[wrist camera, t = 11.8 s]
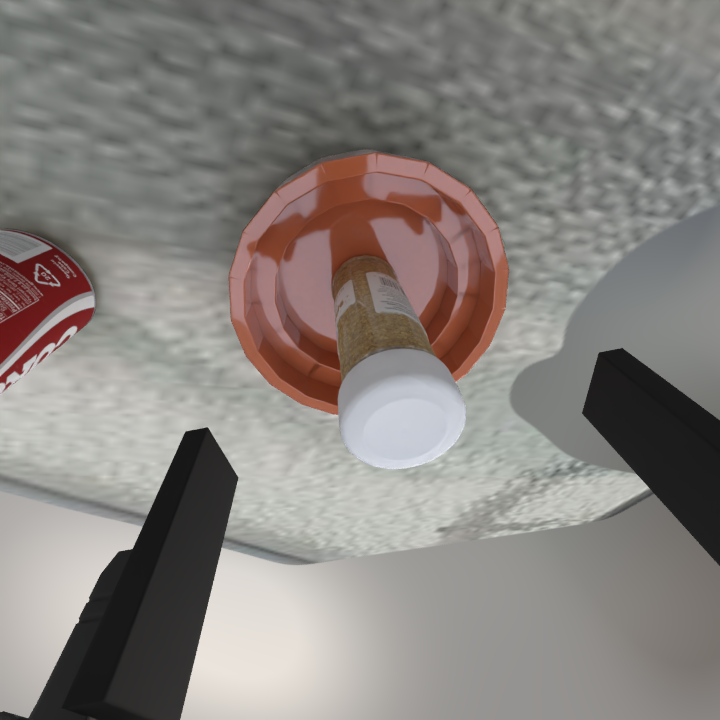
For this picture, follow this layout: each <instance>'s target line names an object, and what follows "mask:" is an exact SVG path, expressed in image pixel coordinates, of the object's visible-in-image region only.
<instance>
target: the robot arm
mask: <svg viewBox="0 0 720 720" xmlns="http://www.w3.org/2000/svg"><path fill="white" fill-rule="evenodd" d="M582 414H583V415H584V416H585V417H586V418H587V419H588V420H589V422H590V423H591V424H592V425H593V426H594V427H595V428H596V429H597V430H598V432H599V433H600V434H601V435H602V436H603V437H604V438H605V439H606V440H607V441H608V443H609V444H610V445H611V446H612V447H613V448H614V449H615V450H616V451H617V453H618V454H619V455H620V456H621V457H622V458H623V459H624V460H625V461H626V463H627V464H628V465H629V466H630V467H631V468H632V469H633V470H634V471H635V473H636V474H637V475H638V476H639V477H640V478H641V479H642V480H643V481H644V483H645V484H646V485H647V486H648V487H649V488H650V489H651V490H652V491H653V493H654V494H655V495H656V496H657V497H658V498H659V499H660V500H661V501H662V502H663V504H664V505H665V506H666V507H667V508H668V509H669V510H670V511H671V512H672V514H673V515H674V516H675V517H676V518H677V519H678V520H679V521H680V522H681V523H682V525H683V526H684V527H685V528H686V529H687V530H688V531H689V532H690V533H691V535H692V536H693V537H694V538H695V539H696V540H697V541H698V542H699V544H700V545H701V546H702V547H703V548H704V549H705V550H706V551H707V552H708V553H709V555H710V556H711V557H712V558H713V559H714V560H715V561H716V562H717V563H718V564H719V566H720V420H718V419H717V418H716V417H714V416H713V415H712V414H710V413H709V412H708V411H706V410H705V409H704V408H702V407H701V406H700V405H698V404H697V403H696V402H694V401H693V400H691V399H690V398H689V397H687V396H686V395H685V394H683V393H682V392H681V391H679V390H678V389H677V388H675V387H674V386H673V385H671V384H670V383H669V382H667V381H666V380H665V379H663V378H662V377H661V376H659V375H658V374H656V373H655V372H654V371H652V370H651V369H650V368H648V367H647V366H646V365H644V364H643V363H641V362H640V361H639V360H638V359H636V358H635V357H633V356H632V355H631V354H630V353H628V352H627V351H625V350H624V349H623V348H621V349H615V350H610V351H605V352H600V353H599V354H598V358H597V362H596V365H595V368H594V372H593V376H592V380H591V383H590V387H589V390H588V394H587V397H586V401H585V405H584V408H583V412H582ZM237 481H238V476H237V475H236V473H235V471H234V470H233V468H232V467H231V465H230V463H229V462H228V460H227V458H226V457H225V455H224V453H223V452H222V450H221V448H220V447H219V445H218V443H217V442H216V440H215V439H214V437H213V435H212V434H211V432H210V430H209V429H208V427H207V428H202V429H197V430H192V431H186V432H185V434H184V436H183V438H182V441H181V443H180V445H179V447H178V450H177V452H176V454H175V456H174V458H173V461H172V463H171V465H170V467H169V470H168V472H167V474H166V476H165V479H164V481H163V483H162V485H161V487H160V490H159V492H158V494H157V496H156V499H155V501H154V503H153V505H152V507H151V510H150V512H149V514H148V516H147V519H146V521H145V523H144V525H143V527H142V530H141V532H140V534H139V537H138V539H137V541H136V543H135V545H134V548H133V549H131V550H125V551H120V552H118V553H117V555H116V556H115V557H114V558H113V559H112V561H111V562H110V563H109V565H108V566H107V567H106V568H105V569H104V571H103V572H102V573H101V575H100V577H99V579H98V581H97V583H96V585H95V587H94V589H93V591H92V593H91V595H90V597H89V599H90V600H89V602H88V603H86V605H85V607H84V609H83V611H82V613H81V615H80V617H79V623H78V624H76V626H75V628H74V629H73V631H72V634H71V635H70V637H69V639H68V641H67V644H66V646H65V648H64V650H63V652H62V654H61V656H60V658H59V660H58V662H57V664H56V666H55V668H54V670H53V672H52V674H51V676H50V678H49V680H48V682H47V684H46V686H45V688H44V690H43V692H42V694H41V696H40V698H39V700H38V702H37V704H36V706H35V708H34V709H33V711H32V713H31V715H30V717H29V718H25V717H21V716H18V715H14V714H11V713H7V712H4V711H3V712H0V720H180V718H181V713H182V710H183V705H184V701H185V697H186V693H187V689H188V685H189V681H190V676H191V672H192V668H193V664H194V660H195V656H196V651H197V647H198V643H199V639H200V635H201V631H202V626H203V622H204V618H205V614H206V610H207V606H208V602H209V597H210V593H211V589H212V585H213V581H214V576H215V572H216V568H217V564H218V560H219V556H220V552H221V547H222V543H223V539H224V535H225V531H226V527H227V523H228V518H229V514H230V510H231V506H232V502H233V498H234V493H235V489H236V485H237Z"/></svg>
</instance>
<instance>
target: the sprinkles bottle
mask: <svg viewBox="0 0 720 720" xmlns="http://www.w3.org/2000/svg"><path fill="white" fill-rule="evenodd" d="M332 297H333V299H334V315H335V324H336V335H337V347H338V355H339V360H340V372H341V381H342V384H341V386H340V389H339V394H338V416H339V426H340V433H341V437H342V440H343V442H344V444H345V446H346V447H347V449H348V450H349V451H350V452H351V453H352V454H353V455H354V456H355V457H356V458H358V459H359V460H361V461H363V462H365V463H367V464H369V465H372V466H375V467H379V468H386V469H402V468H409V467H414V466H418V465H421V464H424V463H427V462H429V461H431V460H433V459H435V458H437V457H438V456H440V455H441V454H443V453H444V452H446V451H447V450H448V449H449V448H450V447H451V446H452V445H453V444H454V443H455V442H456V441H457V439H458V438H459V436H460V434H461V432H462V430H463V428H464V425H465V421H466V406H465V402H464V400H463V397H462V395H461V393H460V390H459V388H458V386H457V384H456V382H455V380H454V378H453V377H452V375H451V373H450V371H449V369H448V368H447V367H446V365H445V364H444V363H443V362H441V361H440V360H439V359H438V358H437V356H436V354H435V353H434V351H433V349H432V347H431V345H430V343H429V340H428V336H427V334H426V332H425V330H424V328H423V326H422V324H421V322H420V320H419V318H418V316H417V315H416V313H415V311H414V309H413V307H412V305H411V303H410V301H409V299H408V298H407V296H406V294H405V292H404V290H403V288H402V287H401V285H400V284H399V282H398V278H397V275H396V273H395V272H394V269H393V268H392V267H391V266H390V265H389V263H387V262H386V261H385V260H383V259H381V258H379V257H376V256H371V255H362V256H357V257H352V258H350V259H349V260H347V261H346V262H345V263H343V264H342V265H341V267H340V268H339V269H338V270H337V272H336V273H335V275H334V278H333V282H332Z"/></svg>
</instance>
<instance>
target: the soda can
mask: <svg viewBox="0 0 720 720" xmlns="http://www.w3.org/2000/svg"><path fill="white" fill-rule="evenodd" d="M95 308H96V297H95V292H94V289H93V286H92V284H91V282H90V280H89V278H88V277H87V275H86V273H85V272H84V271H83V269H82V268H81V267H80V266H79V264H78V263H77V262H76V261H75V260H74V259H73V258H72V257H70V256H69V255H68V254H67V253H66V252H64V251H63V250H62V249H60V248H59V247H57V246H56V245H54V244H53V243H51V242H49V241H47V240H45V239H43V238H41V237H39V236H36V235H34V234H31V233H28V232H24V231H19V230H14V229H0V395H1V394H2V393H3V392H4V391H6V390H7V389H8V388H9V387H10V386H12V385H13V384H14V383H15V382H17V381H18V380H19V379H20V378H22V377H23V376H24V375H25V374H26V373H28V372H29V371H30V370H31V369H33V368H34V367H35V366H36V365H38V364H39V363H40V362H41V361H43V360H44V359H45V358H46V357H47V356H49V355H50V354H51V353H52V352H54V351H55V350H56V349H57V348H59V347H60V346H61V345H62V344H63V343H65V342H66V341H67V340H68V339H70V338H71V337H72V336H73V335H75V334H76V333H77V332H78V331H79V330H81V329H82V328H83V327H84V326H86V325H87V324H88V323H89V322H90V320H91V319H92V317H93V315H94V312H95Z"/></svg>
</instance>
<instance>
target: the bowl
mask: <svg viewBox="0 0 720 720" xmlns="http://www.w3.org/2000/svg"><path fill="white" fill-rule="evenodd" d="M362 255H371V256H376V257H379V258H381V259H383V260H385V261H386V262H387V263H389V265H390V266H391V267H392V268H393V269H394V272H395V273H396V275H397V278H398V282H399V284H400V285H401V287H402V288H403V290H404V292H405V294H406V296H407V298H408V299H409V301H410V303H411V305H412V307H413V309H414V311H415V313H416V315H417V316H418V318H419V320H420V322H421V324H422V326H423V328H424V330H425V332H426V334H427V336H428V340H429V343H430V345H431V347H432V349H433V351H434V353H435V354H436V356H437V358H438V359H439V360H440V361H441V362H443V363H444V364H445V365H446V367H447V368H448V369H449V371H450V373H451V375H452V377H453V378H454V380H455V382H457V381H458V380H459V379H461V378H462V377H463V376H465V375H466V374H467V373H468V372H469V371H470V369H471V368H472V367H473V366H474V364H475V363H476V362H477V361H478V359H479V358H480V357H481V356H482V354H483V353H484V352H485V351H486V349H487V348H488V347H489V346H490V344H491V342H492V339H493V337H494V335H495V332H496V330H497V327H498V325H499V323H500V320H501V318H502V316H503V313H504V311H505V307H506V296H507V285H508V274H509V268H508V262H507V259H506V255H505V251H504V247H503V243H502V239H501V235H500V231H499V228H498V227H497V224H496V222H495V221H494V220H493V218H492V217H491V215H490V214H489V213H488V211H487V210H486V208H485V207H484V206H483V204H482V203H481V201H480V200H479V199H478V197H477V196H476V195H475V193H474V192H473V190H471V189H470V187H468V186H466V185H465V184H463V183H462V182H460V181H459V180H457V179H455V178H454V177H452V176H451V175H449V174H447V173H446V172H444V171H443V170H441V169H440V168H438V167H436V166H435V165H433V164H432V163H430V162H427V161H424V160H420V159H416V158H412V157H409V156H403V155H398V154H392V153H387V152H382V151H376V150H371V149H362V150H356V151H351V152H346V153H340V154H335V155H330V156H324V157H322V158H319V159H318V160H316V161H314V162H313V163H311V164H309V165H308V166H306V167H305V168H303V169H301V170H300V171H298V172H296V173H295V174H293V175H291V176H290V177H288V178H287V179H285V180H284V181H282V183H281V184H280V185H279V186H278V187H277V188H276V190H275V191H274V192H273V193H272V195H271V196H270V197H269V198H268V200H267V201H266V202H265V203H264V205H263V206H262V207H261V209H260V210H259V211H258V212H257V214H256V215H255V216H254V217H253V219H252V220H251V221H250V223H249V224H248V225H247V226H246V228H245V229H244V230H243V232H242V235H241V238H240V241H239V245H238V248H237V251H236V254H235V257H234V260H233V263H232V267H231V270H230V273H229V293H230V314H231V321H232V324H233V326H234V329H235V331H236V333H237V336H238V338H239V341H240V343H241V346H242V348H243V350H244V353H245V355H246V357H247V358H248V359H249V360H250V361H251V363H252V364H253V365H254V366H255V367H256V368H257V370H258V371H259V372H260V373H261V374H262V375H263V377H264V378H265V379H266V380H267V381H268V382H269V384H271V385H272V386H274V387H275V388H277V389H278V390H280V391H281V392H283V393H285V394H286V395H288V396H289V397H291V398H292V399H294V400H296V401H297V402H299V403H300V404H302V405H305V406H309V407H312V408H315V409H318V410H321V411H325V412H328V413H331V414H336V415H338V394H339V389H340V386H341V384H342V381H341V372H340V360H339V355H338V347H337V335H336V324H335V315H334V299H333V297H332V282H333V278H334V275H335V273H336V272H337V270H338V269H339V268H340V267H341V265H342V264H343V263H345V262H346V261H347V260H349V259H350V258H352V257H357V256H362Z"/></svg>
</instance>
